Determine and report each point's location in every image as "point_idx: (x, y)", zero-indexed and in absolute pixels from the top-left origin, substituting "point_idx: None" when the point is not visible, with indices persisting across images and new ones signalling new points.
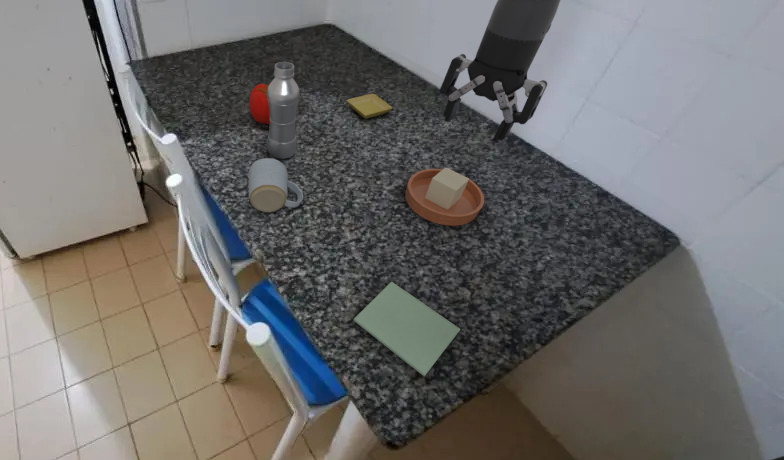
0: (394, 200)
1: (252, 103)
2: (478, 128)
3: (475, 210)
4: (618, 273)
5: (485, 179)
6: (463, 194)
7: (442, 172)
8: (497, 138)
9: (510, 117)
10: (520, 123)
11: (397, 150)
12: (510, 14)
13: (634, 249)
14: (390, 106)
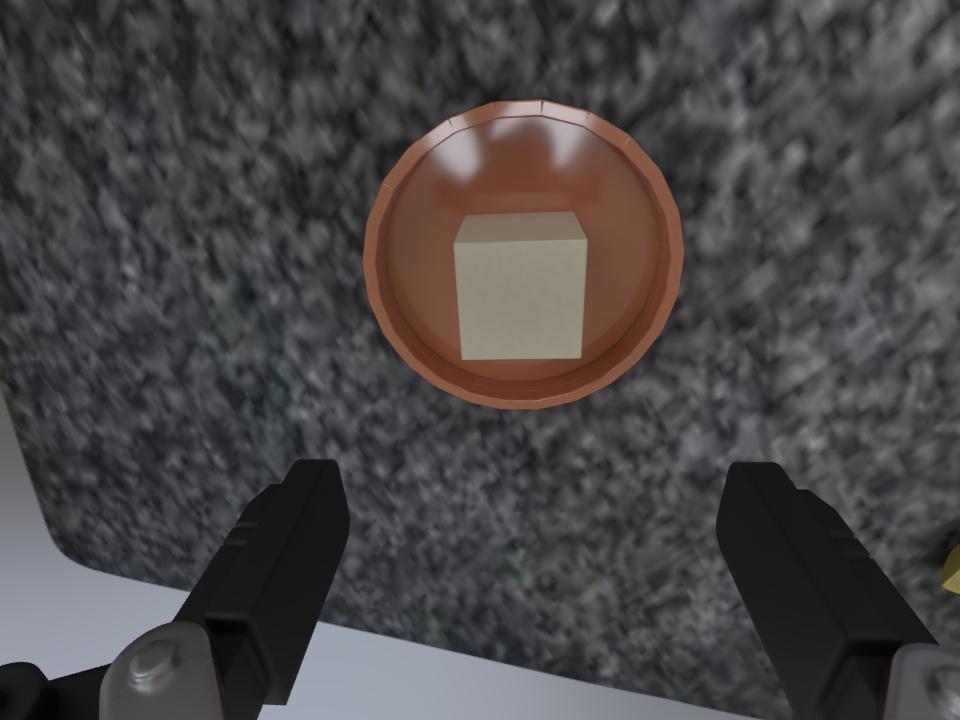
0: (672, 100)
1: None
2: (614, 649)
3: (371, 260)
4: (9, 358)
5: (471, 466)
6: None
7: (571, 314)
8: (288, 478)
9: (130, 699)
10: (22, 668)
11: (806, 403)
12: None
13: (63, 467)
14: (954, 589)
